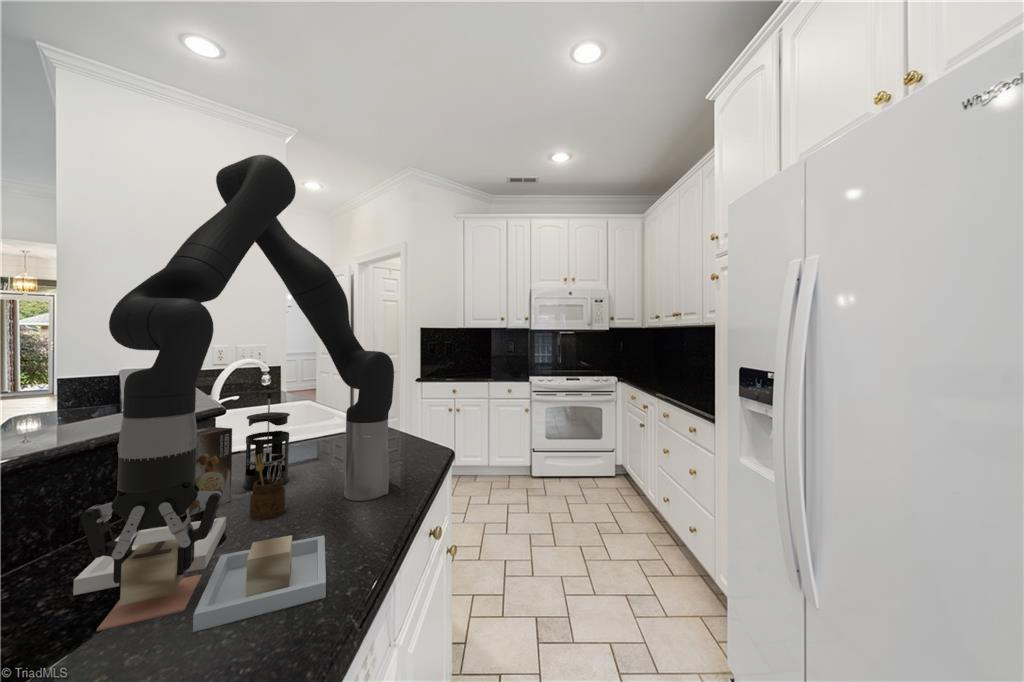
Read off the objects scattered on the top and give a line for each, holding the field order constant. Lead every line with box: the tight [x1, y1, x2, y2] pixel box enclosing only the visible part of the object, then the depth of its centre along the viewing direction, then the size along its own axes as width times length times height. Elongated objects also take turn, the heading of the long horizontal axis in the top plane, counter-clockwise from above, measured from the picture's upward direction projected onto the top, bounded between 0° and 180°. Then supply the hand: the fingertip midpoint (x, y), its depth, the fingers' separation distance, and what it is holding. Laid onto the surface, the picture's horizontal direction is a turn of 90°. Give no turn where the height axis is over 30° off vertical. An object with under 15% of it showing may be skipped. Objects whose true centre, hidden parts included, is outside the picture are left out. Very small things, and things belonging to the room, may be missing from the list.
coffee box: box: [187, 426, 233, 517], centre depth 78 cm, size 9×6×16 cm
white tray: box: [72, 516, 227, 596], centre depth 60 cm, size 14×14×3 cm
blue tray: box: [192, 535, 327, 633], centre depth 54 cm, size 14×14×3 cm
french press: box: [242, 389, 291, 492], centre depth 93 cm, size 12×9×23 cm
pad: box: [96, 574, 203, 632], centre depth 49 cm, size 8×8×1 cm
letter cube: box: [119, 539, 185, 605], centre depth 50 cm, size 5×5×5 cm
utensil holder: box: [249, 454, 286, 521], centre depth 75 cm, size 6×6×12 cm
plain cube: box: [246, 535, 293, 597], centre depth 54 cm, size 5×5×5 cm
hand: (154, 577), depth 49 cm, fingers closed on letter cube, 5 cm apart
